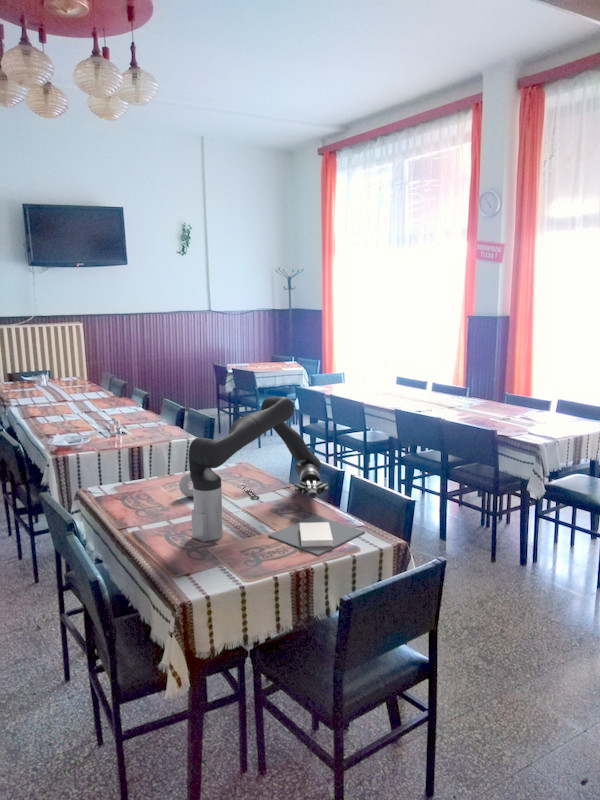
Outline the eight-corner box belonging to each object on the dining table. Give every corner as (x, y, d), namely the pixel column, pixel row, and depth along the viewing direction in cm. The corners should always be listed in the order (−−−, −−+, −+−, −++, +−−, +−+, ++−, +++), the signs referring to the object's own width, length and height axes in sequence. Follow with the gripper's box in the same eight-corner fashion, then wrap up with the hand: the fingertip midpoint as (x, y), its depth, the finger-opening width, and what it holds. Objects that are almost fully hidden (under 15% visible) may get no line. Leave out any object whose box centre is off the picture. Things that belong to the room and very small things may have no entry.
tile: (299, 522, 205) (301, 540, 191) (328, 522, 206) (332, 539, 192) (299, 529, 206) (301, 547, 192) (328, 528, 206) (332, 546, 192)
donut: (202, 493, 243) (201, 469, 242) (205, 495, 241) (204, 471, 239) (178, 497, 239) (177, 472, 237) (181, 499, 236) (180, 475, 234)
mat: (318, 555, 187) (318, 554, 187) (268, 536, 201) (268, 534, 201) (364, 532, 204) (364, 531, 204) (315, 516, 219) (315, 514, 219)
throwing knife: (251, 501, 235) (251, 499, 235) (236, 485, 253) (236, 484, 253) (261, 499, 237) (261, 498, 237) (246, 484, 255) (246, 483, 255)
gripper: (292, 470, 230) (294, 485, 213) (327, 469, 230) (331, 484, 213) (292, 489, 231) (294, 505, 214) (327, 488, 232) (331, 505, 215)
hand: (312, 495), depth 214 cm, fingers closed
